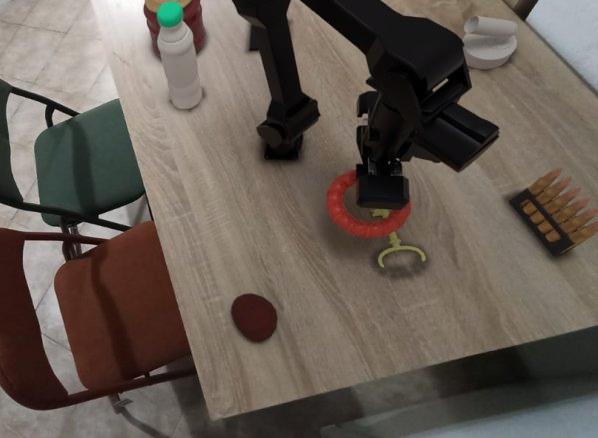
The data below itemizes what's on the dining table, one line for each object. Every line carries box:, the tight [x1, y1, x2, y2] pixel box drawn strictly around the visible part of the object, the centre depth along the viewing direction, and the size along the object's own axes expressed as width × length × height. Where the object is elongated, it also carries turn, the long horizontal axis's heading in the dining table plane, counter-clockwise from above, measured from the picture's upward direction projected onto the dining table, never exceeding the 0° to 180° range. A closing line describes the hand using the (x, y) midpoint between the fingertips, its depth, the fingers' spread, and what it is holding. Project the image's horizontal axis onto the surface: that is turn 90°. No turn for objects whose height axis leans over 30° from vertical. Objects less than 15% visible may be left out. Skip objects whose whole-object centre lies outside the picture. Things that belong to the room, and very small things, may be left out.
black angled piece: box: [249, 24, 259, 52], centre depth 99 cm, size 8×8×8 cm
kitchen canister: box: [142, 0, 206, 59], centre depth 101 cm, size 13×13×18 cm
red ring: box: [325, 168, 412, 239], centre depth 69 cm, size 12×12×2 cm
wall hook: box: [461, 15, 519, 70], centre depth 82 cm, size 9×10×10 cm
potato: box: [230, 292, 279, 343], centre depth 75 cm, size 7×8×6 cm
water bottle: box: [157, 1, 203, 110], centre depth 90 cm, size 7×7×25 cm
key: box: [370, 209, 427, 268], centre depth 76 cm, size 7×12×2 cm, turn 23°
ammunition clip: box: [508, 166, 598, 257], centre depth 66 cm, size 11×2×12 cm, turn 16°
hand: (367, 175), depth 71 cm, fingers closed on red ring, 2 cm apart
